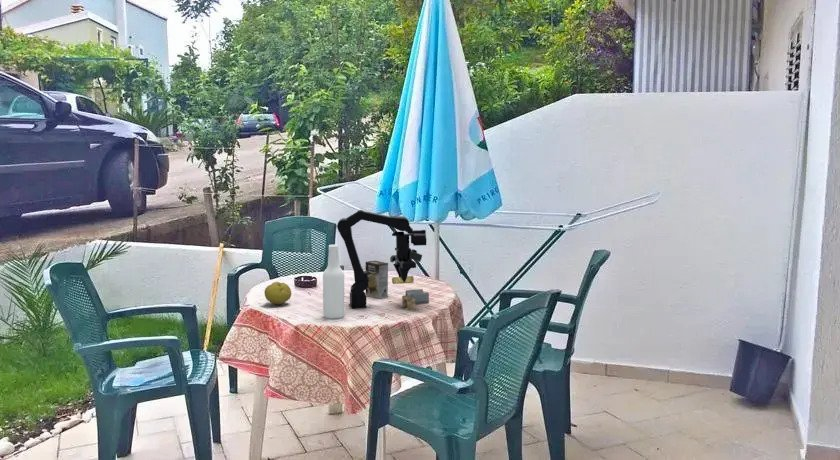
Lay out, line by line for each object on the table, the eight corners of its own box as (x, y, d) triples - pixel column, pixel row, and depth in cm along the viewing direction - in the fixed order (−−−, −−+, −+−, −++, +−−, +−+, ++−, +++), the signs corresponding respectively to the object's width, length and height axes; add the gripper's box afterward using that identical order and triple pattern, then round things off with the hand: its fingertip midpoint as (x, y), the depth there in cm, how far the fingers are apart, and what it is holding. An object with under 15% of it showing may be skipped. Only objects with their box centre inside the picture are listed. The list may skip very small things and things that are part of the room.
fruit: (262, 303, 326) (261, 281, 325) (288, 300, 331) (287, 279, 330) (267, 308, 316) (266, 286, 315) (294, 306, 321) (293, 283, 319)
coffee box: (364, 295, 342) (364, 261, 340) (374, 293, 347) (374, 260, 344) (378, 299, 336) (378, 264, 333) (388, 296, 340) (388, 262, 338)
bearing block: (408, 309, 316) (408, 299, 316) (402, 305, 324) (402, 295, 323) (415, 309, 317) (415, 299, 317) (408, 305, 325) (408, 295, 324)
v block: (412, 304, 326) (412, 294, 325) (405, 300, 334) (405, 289, 333) (428, 303, 329) (429, 292, 328) (421, 298, 337) (421, 288, 336)
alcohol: (319, 317, 302) (318, 246, 298) (329, 313, 310) (328, 242, 306) (338, 320, 299) (338, 247, 294) (348, 315, 307) (347, 244, 303)
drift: (404, 309, 318) (404, 303, 318) (402, 307, 321) (402, 302, 320) (415, 308, 320) (415, 302, 320) (412, 306, 322) (412, 301, 322)
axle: (394, 284, 318) (394, 278, 318) (392, 283, 321) (392, 276, 321) (413, 283, 321) (413, 276, 321) (411, 282, 324) (411, 275, 323)
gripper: (427, 247, 313) (427, 283, 315) (413, 241, 330) (413, 275, 332) (402, 249, 309) (403, 285, 311) (389, 243, 326) (390, 277, 329)
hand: (403, 280), depth 321 cm, fingers closed on axle, 3 cm apart
